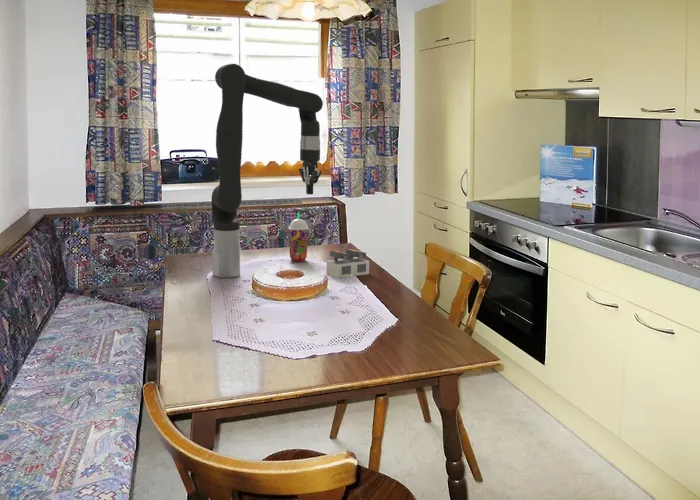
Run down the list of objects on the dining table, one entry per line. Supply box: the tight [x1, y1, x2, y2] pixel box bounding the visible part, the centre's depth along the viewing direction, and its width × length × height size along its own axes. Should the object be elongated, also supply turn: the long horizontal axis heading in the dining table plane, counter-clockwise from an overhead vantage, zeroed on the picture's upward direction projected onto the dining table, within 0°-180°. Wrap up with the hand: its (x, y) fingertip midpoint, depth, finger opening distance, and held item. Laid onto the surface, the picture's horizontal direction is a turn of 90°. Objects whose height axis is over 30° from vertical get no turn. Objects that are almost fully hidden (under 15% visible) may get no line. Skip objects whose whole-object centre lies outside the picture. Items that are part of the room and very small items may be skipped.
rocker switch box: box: [325, 254, 370, 279], centre depth 257 cm, size 14×8×8 cm, turn 125°
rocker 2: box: [345, 248, 367, 259], centre depth 258 cm, size 6×5×2 cm
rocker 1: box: [329, 249, 351, 260], centre depth 254 cm, size 6×5×2 cm
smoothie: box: [287, 211, 310, 263], centre depth 278 cm, size 8×8×20 cm
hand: (309, 194), depth 260 cm, fingers closed
